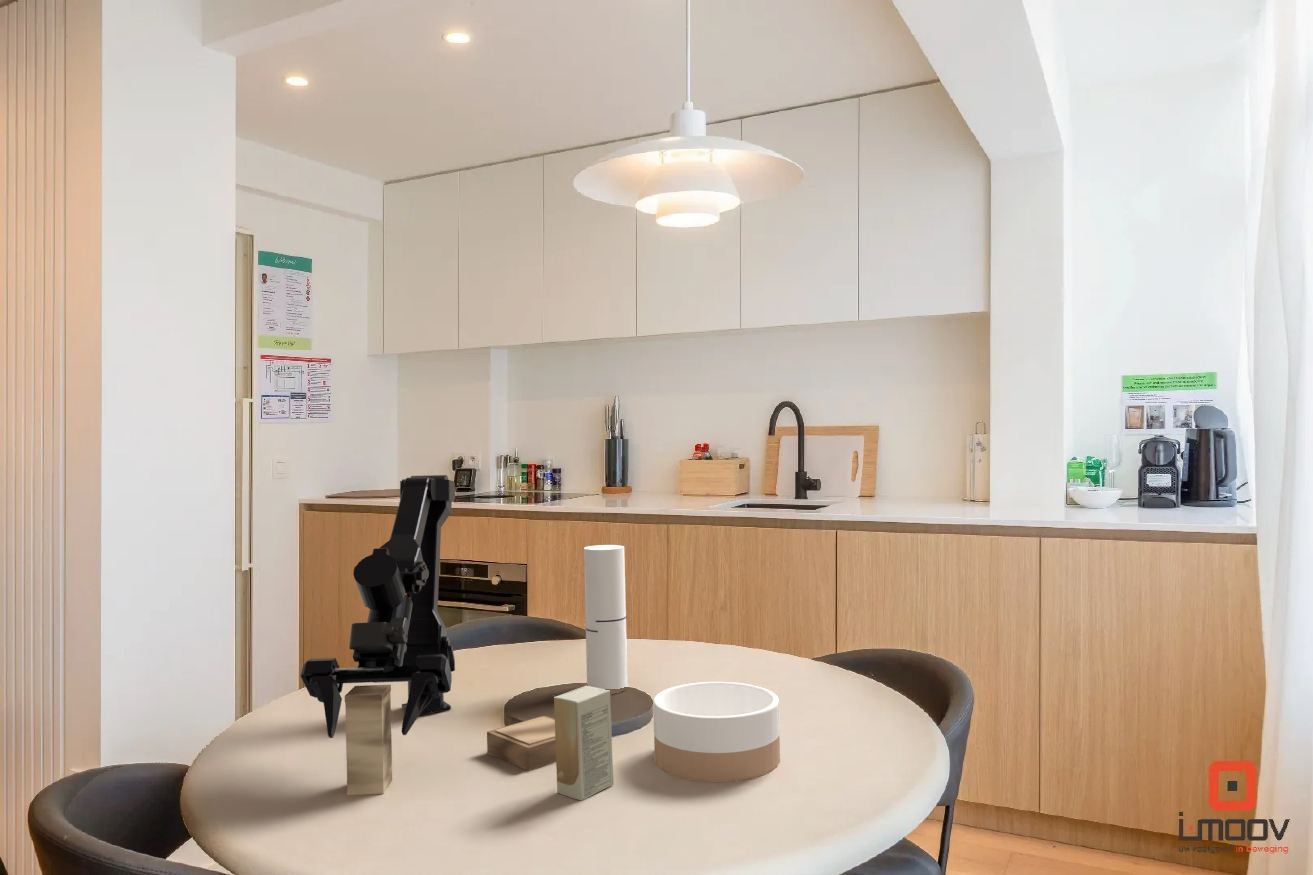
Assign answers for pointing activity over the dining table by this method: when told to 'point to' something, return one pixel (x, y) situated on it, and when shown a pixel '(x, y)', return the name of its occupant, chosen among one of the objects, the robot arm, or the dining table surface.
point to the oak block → (368, 739)
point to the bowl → (716, 731)
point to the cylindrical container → (605, 616)
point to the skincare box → (583, 742)
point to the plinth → (525, 743)
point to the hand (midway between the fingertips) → (367, 735)
